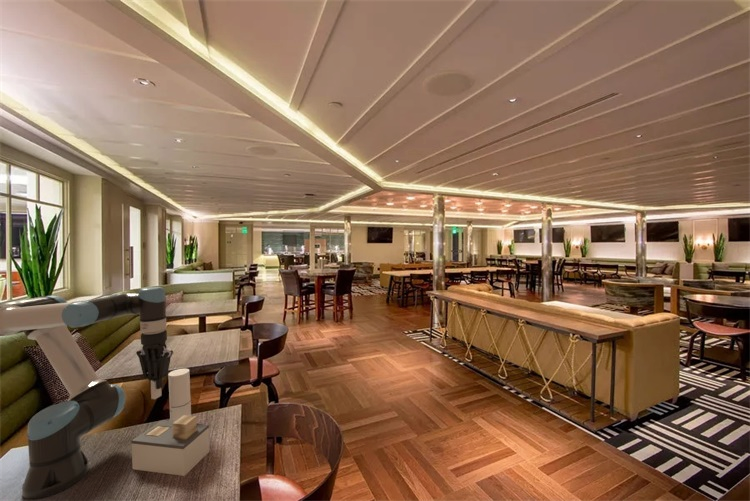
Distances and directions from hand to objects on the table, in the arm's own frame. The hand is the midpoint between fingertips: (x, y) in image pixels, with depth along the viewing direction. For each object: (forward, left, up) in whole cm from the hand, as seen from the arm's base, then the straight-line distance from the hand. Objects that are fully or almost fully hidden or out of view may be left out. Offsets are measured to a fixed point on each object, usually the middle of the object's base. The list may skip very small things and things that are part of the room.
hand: (156, 397), depth 110 cm
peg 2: (+11, 0, -15) cm, 19 cm away
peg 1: (0, 0, -20) cm, 20 cm away
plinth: (+6, 0, -22) cm, 23 cm away
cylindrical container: (-3, +14, -22) cm, 27 cm away
